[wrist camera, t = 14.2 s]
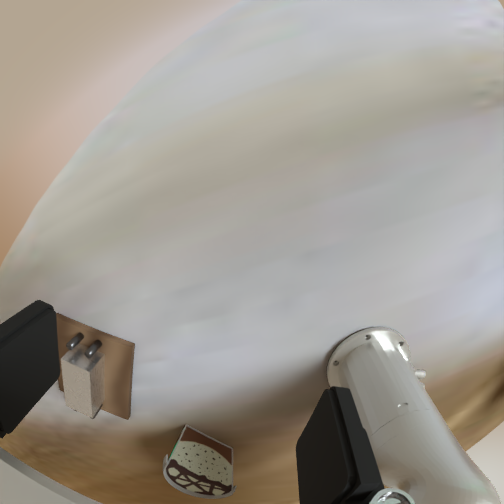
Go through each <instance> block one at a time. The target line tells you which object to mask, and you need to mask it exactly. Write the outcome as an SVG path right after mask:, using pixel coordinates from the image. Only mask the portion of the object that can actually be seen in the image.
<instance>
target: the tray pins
mask: <svg viewBox="0 0 504 504" xmlns="http://www.w3.org/2000/svg"><path fill="white" fill-rule="evenodd" d="M83 339H84V335H83V334H82V333H81V332H79V333H77V334H76V335H75V336H74V337H73V338H72V339H71V340H70V341H69V342H68V343H67V344H66V347H67V349H68V350H73V349H74V348H75V347H76V346H77V345H78V344H79V343H80V342H81V341H82V340H83ZM101 346H102V342H101V341H100V340H96V341H95V342H94V343H93V344H92V345H91V346H90V347H89V348H88V349H87V350H86V351H85V353H84V354H85V356H86V357H87V358H88V359H90V358H92V356H93V355H94V354H95V353H96V352H97V351H98V349H99V348H100V347H101ZM102 406H103V404H101V406H100V407H99V409H98V410H97V412H96V414H95V415H94V417H93V418H92V419H94V418H95V417H96V415H97V413H98V412H99V410H100V409H101V407H102ZM75 411H76V410H75ZM90 418H91V417H90Z"/></svg>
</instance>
